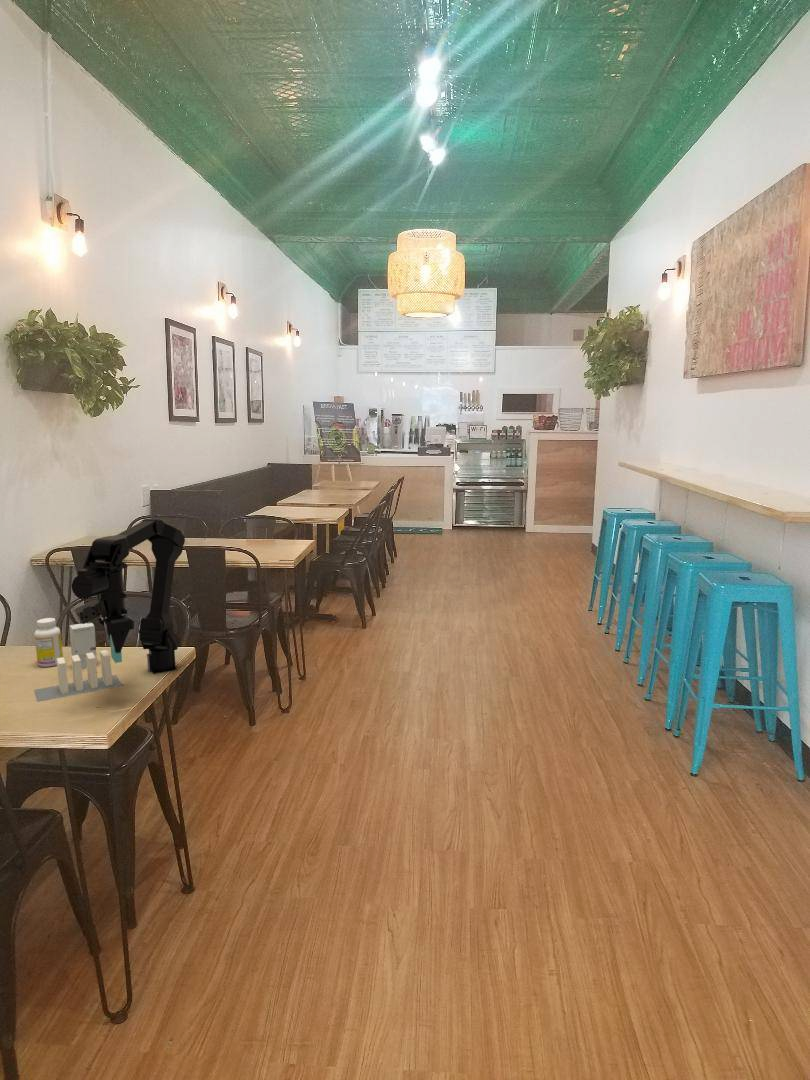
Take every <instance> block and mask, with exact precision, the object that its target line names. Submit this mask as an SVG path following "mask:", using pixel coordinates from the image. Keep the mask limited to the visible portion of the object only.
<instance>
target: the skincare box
mask: <svg viewBox="0 0 810 1080" xmlns="http://www.w3.org/2000/svg"><path fill="white" fill-rule="evenodd" d="M69 637H70V638H69V639H70V648H71V649H70V650H71V651H70V653H71V656H74V655H78V656H79V658H80V660H81V668H82V670H83V669H86V668H87V661H86V653H93V654H94V656H95V658H96V667H98V662H97V660H98V658H97V643H96V627H95V624H94V623H93V622H88V623H85V624H82V623H78V624H77V623H76V624H70V625H69Z"/></svg>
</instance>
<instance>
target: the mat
mask: <svg viewBox="0 0 810 1080" xmlns="http://www.w3.org/2000/svg"><path fill="white" fill-rule="evenodd" d="M97 680H98V687H97V688H92V689H91V687H90V685H89V683H88V679H86V680H83V690H81V691H76V689H75V686H74V682H70V683H68V692H69V693H66V694H61V691H60V689H59V684H58V685H53V686H47V687H43V688H42V687H41V688H36V689H33V692H34V695H35V699H36V702H37V703H38V702H40V703H41V702H44V701H49V700H54V699H55V700H56V699H60V698H65V697H69V696H75V695H79V694H80V695H81V694H86V693H92V692H96V691H102V690H106V689H112V688H117V687H121V686H123V683H122V682H121V680H120V678H119V677H118V675H117V674H113V675H112V685H108V686H106V685H105V683H104V682H103V680H102V677H97Z"/></svg>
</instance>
